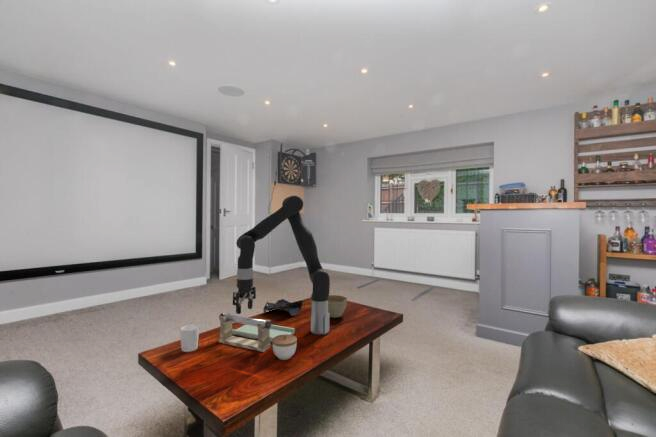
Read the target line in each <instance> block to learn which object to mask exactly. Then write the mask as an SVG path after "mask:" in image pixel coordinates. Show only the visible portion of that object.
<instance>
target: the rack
mask: <svg viewBox="0 0 656 437" xmlns="http://www.w3.org/2000/svg"><path fill="white" fill-rule="evenodd" d="M227 314H228V315H234V314H232V313H227ZM263 320H264V321H271V320H270V319H265V318H264V319H263ZM219 323H220V324H219V326H220V328H219V329H220V332H219V335H220V336H219V337H220V338H219V339H218V343H222V344H224V345H230V346H234V347H238V348H244V349H249V350H252V351H256V352H261V353H265V352H266V351H267V350H268V349H270V348H271V347H272V342H270V328H269V329H267V328H264V323H257V329H258V339H257V340H256V339H251V338H246V337H241V336H236V335H233V334H232V329H233V322H230V321H226V317H223V316H221V317H220V319H219Z"/></svg>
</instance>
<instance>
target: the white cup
mask: <svg viewBox="0 0 656 437" xmlns="http://www.w3.org/2000/svg"><path fill="white" fill-rule="evenodd" d="M199 331H200V325H198V324H187V325H184V326H181V327H180V331H179V332H180V347H181V348H180V349H181V351H182V352H185V353H189V352H194V351H196V350H197V349H198V346H199V344H198V343H199V337H200V334H199V333H200V332H199Z"/></svg>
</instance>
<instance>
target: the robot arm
mask: <svg viewBox="0 0 656 437" xmlns="http://www.w3.org/2000/svg"><path fill="white" fill-rule="evenodd" d="M281 205H282V206H281V207H280V208H279V209H278V210H276V211H275V212H273V213H271V214H270V215H269V216H267V217H266V218H264V219H263V220H261V221H259V222H258V223H257V224H256V225H254V227H252V228H251V229H249V230H247V231H246V232H244V233H243V234H241V235H240V236H239V237H238V238H237V239H236V242H235V243H236V247H237V248H238V249H239V256H238V257H237V271H236V288H237V290H238V291H234V292H233V293H232V306H235V313H236V315H239V314H240V315H241V313H242V304H243V302H244V301H245V300H246V299H247V300H248V301H247V309H248V310H252V309H253V302H254V300H256V297H257V296H256V295H257V293H256V292H257V291H256V290H257V289H256V287H255V286H254V269H253V268H254V256H255V249H256V244H255V243H256V242H257V241H259V240H262V239H264V238H265V237H266V236H268V235H269V234H270V233H271V232H273V231H274V230H275V229H276V228H278V226H280V224H282V223H284V221H285V220H288V222H289V225H290V227H291V229H292V234H293V235H294V238H295V242H296V244H297V246H298V250H299V251H300V253H301V256H302V258H303V260H304V263H305V265H306V267H307V270H308V271H307V272H308V275H309V278H310V282H311V283H312V292H311V295H310V332H311V333H312V334H314V335H326V334H328V333H329V332H330V317H329V316H330V314H329V313H328V296H329V295H330V288H331V286H330V285H331V279H330V275H329V273H328V272H327V271H325V270H324V268H323V266H322V264H321V262H320V259H319V256H318V247H317V244H316V240H315V238H314V235H313V233H312V231H311V230H310V229H309V227H308V225H307V224H306V223H305V222H304V220H303V218H302V215H301V211H302V210H303V208H304V201H303V199H302V197H300V196H299V195H290V196H288V197H286V198H284V200H283V201H282V204H281Z"/></svg>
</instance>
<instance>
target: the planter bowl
mask: <svg viewBox="0 0 656 437" xmlns="http://www.w3.org/2000/svg"><path fill="white" fill-rule="evenodd" d="M347 303H348V297H346V296H344V295H338V294H329V296H328V313H329V314H330V316H329V318H333V319H334V318H340V317H342V316H343V313H344V312H345V310H346V308H347Z"/></svg>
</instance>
